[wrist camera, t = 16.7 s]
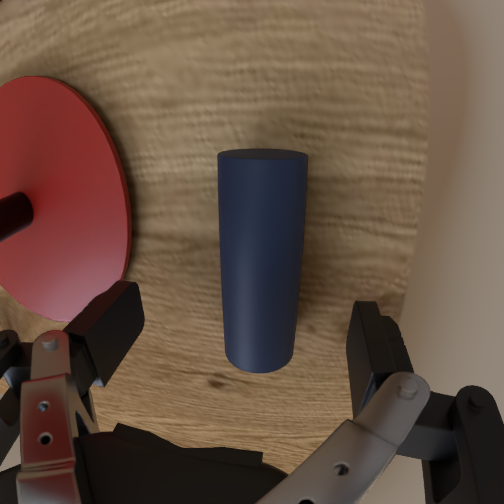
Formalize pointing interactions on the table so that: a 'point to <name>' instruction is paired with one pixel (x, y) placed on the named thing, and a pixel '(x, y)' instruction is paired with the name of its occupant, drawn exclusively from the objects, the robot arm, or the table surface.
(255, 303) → the tube
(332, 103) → the table surface
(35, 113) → the pot lid
